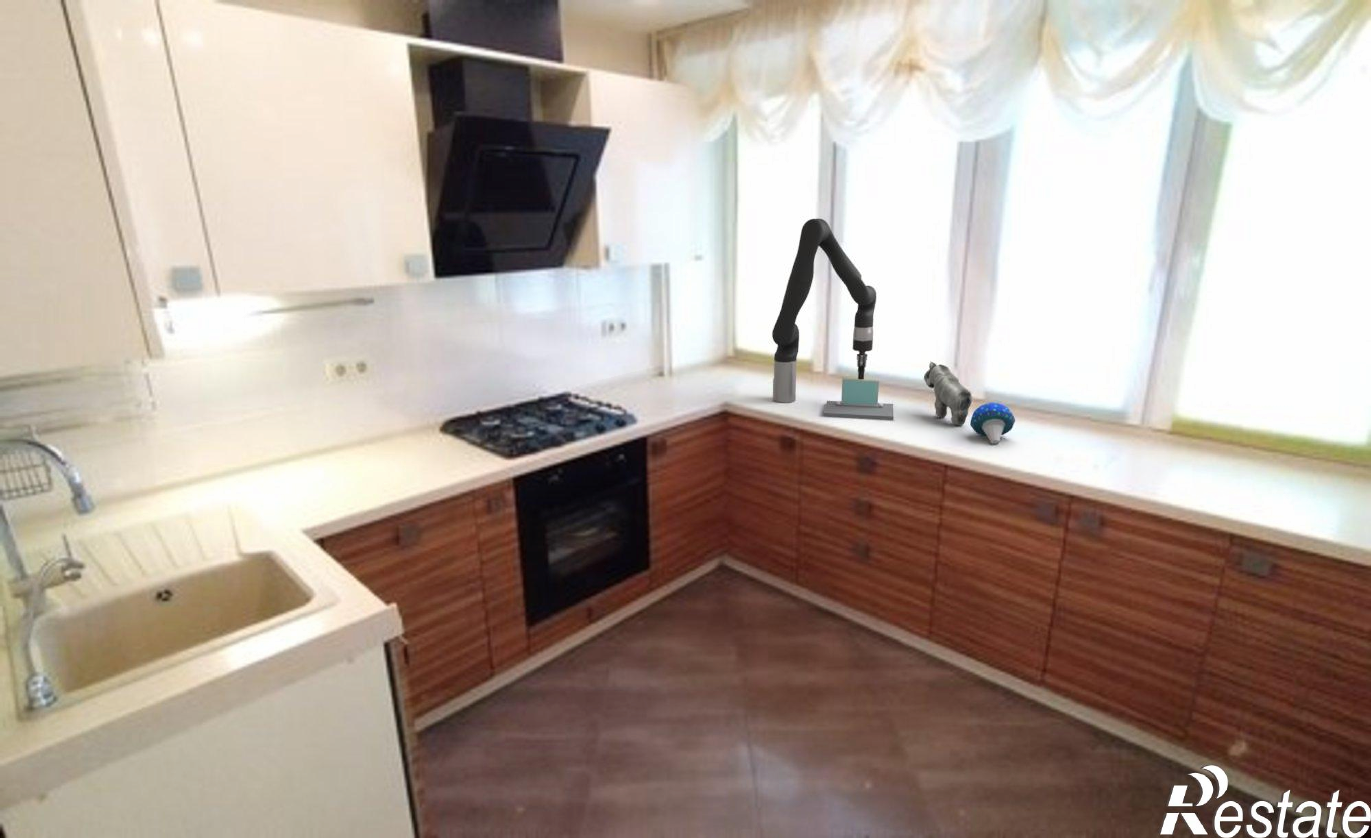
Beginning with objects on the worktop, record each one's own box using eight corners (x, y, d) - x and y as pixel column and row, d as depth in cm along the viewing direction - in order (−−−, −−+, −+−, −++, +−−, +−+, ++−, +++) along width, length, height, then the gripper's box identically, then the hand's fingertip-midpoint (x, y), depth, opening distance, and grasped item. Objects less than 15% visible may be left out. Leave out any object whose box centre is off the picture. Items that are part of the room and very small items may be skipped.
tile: (841, 402, 267) (841, 403, 266) (842, 378, 265) (842, 379, 263) (877, 404, 264) (877, 405, 262) (879, 380, 261) (879, 380, 260)
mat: (823, 416, 258) (823, 408, 257) (827, 404, 275) (827, 396, 274) (893, 420, 251) (893, 412, 250) (892, 407, 268) (893, 399, 267)
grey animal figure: (974, 426, 241) (980, 372, 235) (953, 429, 239) (958, 375, 233) (933, 408, 264) (937, 359, 258) (913, 410, 262) (917, 361, 256)
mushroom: (984, 426, 217) (980, 390, 225) (964, 449, 228) (961, 414, 237) (1026, 434, 216) (1021, 398, 225) (1005, 457, 228) (1000, 422, 237)
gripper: (853, 334, 266) (851, 376, 272) (852, 341, 254) (850, 384, 259) (873, 335, 264) (870, 377, 270) (872, 341, 252) (870, 385, 257)
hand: (860, 381), depth 264 cm, fingers closed
